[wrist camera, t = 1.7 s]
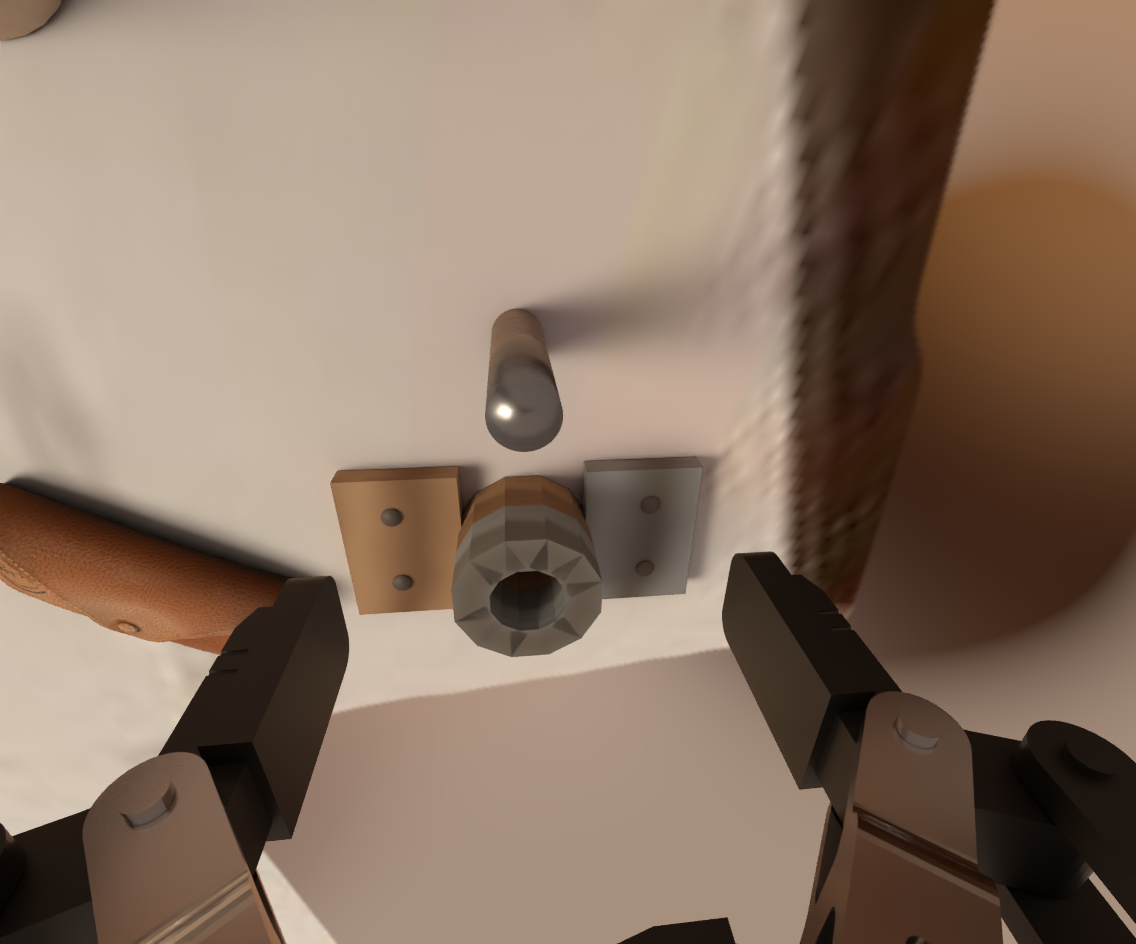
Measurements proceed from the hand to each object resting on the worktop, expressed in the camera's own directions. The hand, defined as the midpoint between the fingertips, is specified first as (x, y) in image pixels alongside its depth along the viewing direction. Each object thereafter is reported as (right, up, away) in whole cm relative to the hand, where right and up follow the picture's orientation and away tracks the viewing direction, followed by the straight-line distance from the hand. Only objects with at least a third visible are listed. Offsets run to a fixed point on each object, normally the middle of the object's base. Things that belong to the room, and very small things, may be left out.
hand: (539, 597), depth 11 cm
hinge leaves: (-2, -1, +25) cm, 25 cm away
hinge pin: (-2, +10, +19) cm, 22 cm away
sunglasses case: (-26, -4, +25) cm, 36 cm away
